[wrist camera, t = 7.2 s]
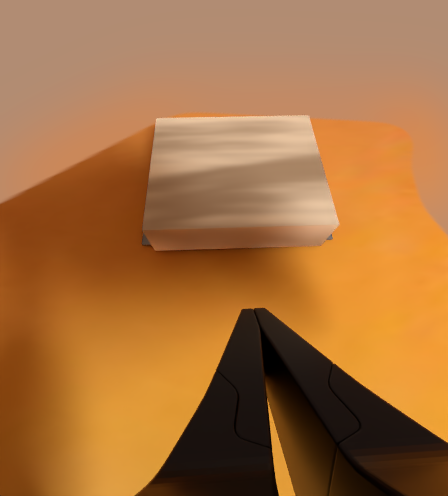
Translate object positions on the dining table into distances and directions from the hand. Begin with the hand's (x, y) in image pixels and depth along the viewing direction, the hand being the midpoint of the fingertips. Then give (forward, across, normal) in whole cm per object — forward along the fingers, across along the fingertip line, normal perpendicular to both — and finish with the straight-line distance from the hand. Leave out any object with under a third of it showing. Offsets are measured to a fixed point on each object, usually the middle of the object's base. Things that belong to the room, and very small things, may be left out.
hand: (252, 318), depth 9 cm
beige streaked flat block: (+8, 0, -1) cm, 8 cm away
